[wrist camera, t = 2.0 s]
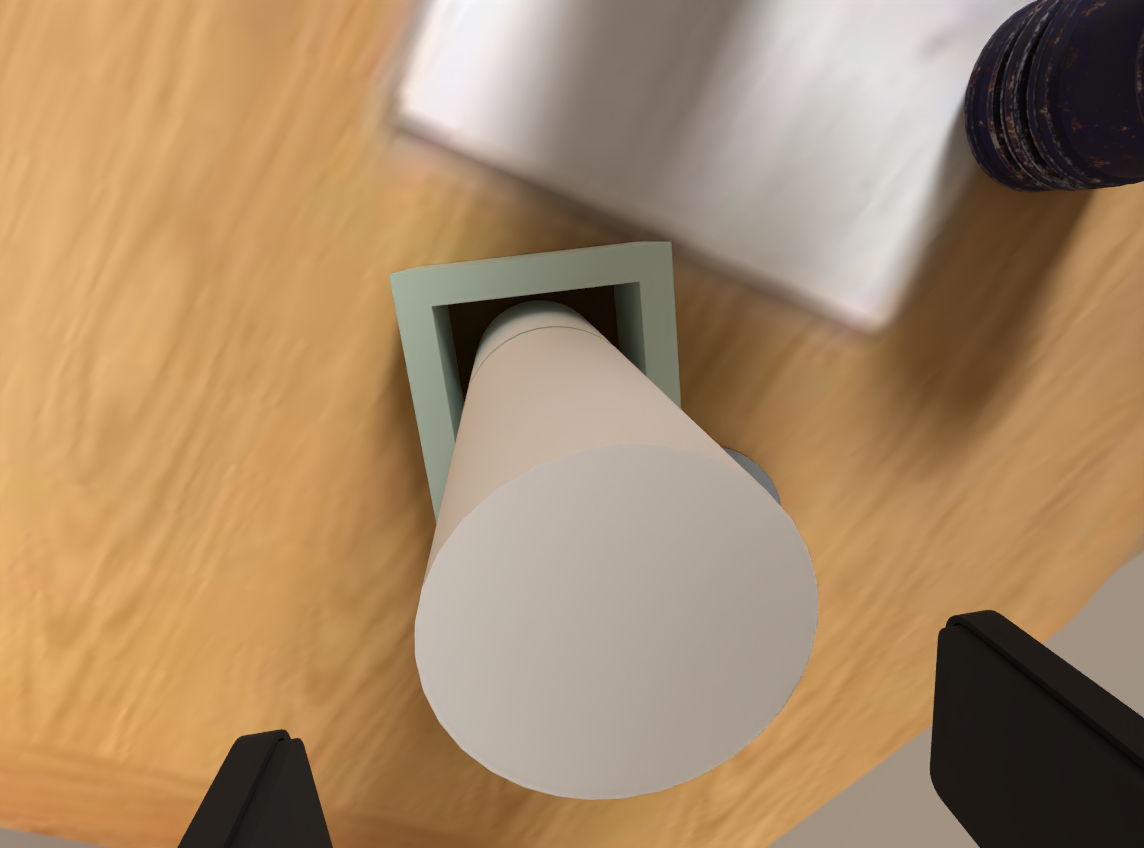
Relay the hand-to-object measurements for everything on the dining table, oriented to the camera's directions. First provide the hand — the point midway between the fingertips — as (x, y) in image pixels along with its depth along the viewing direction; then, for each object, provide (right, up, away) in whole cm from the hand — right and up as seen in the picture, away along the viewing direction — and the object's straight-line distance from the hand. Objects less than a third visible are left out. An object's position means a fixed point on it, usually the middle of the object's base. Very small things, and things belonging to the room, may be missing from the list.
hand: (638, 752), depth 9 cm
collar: (-3, +8, +26) cm, 27 cm away
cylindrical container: (-3, +8, +26) cm, 27 cm away
